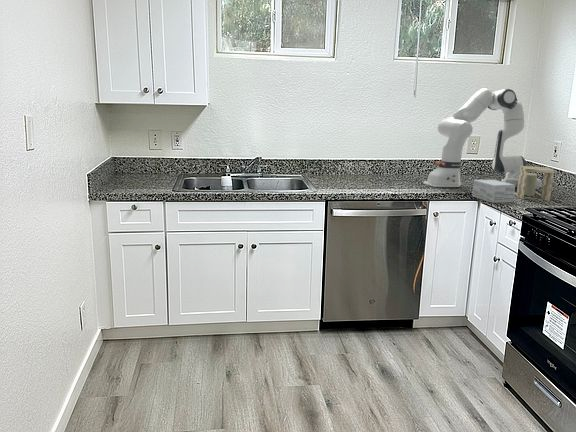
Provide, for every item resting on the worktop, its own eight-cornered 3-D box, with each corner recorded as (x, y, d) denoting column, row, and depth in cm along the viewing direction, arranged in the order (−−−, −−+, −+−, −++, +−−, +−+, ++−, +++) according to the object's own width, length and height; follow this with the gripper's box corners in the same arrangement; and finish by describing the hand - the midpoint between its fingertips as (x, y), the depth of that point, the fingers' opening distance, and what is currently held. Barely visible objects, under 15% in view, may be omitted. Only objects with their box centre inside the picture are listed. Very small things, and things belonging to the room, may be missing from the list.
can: (514, 192, 289) (517, 171, 286) (530, 193, 288) (533, 172, 285) (520, 195, 280) (523, 174, 277) (537, 196, 279) (540, 174, 276)
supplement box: (513, 202, 262) (516, 184, 260) (492, 203, 258) (494, 185, 256) (491, 195, 278) (494, 178, 276) (471, 196, 274) (473, 179, 272)
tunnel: (509, 190, 293) (513, 162, 289) (534, 192, 291) (539, 163, 287) (521, 199, 269) (526, 168, 265) (549, 201, 267) (554, 170, 263)
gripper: (501, 174, 300) (507, 177, 287) (537, 176, 297) (545, 179, 284) (499, 184, 302) (505, 188, 288) (536, 186, 299) (543, 191, 286)
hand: (526, 184), depth 286 cm, fingers closed, pressing on can
